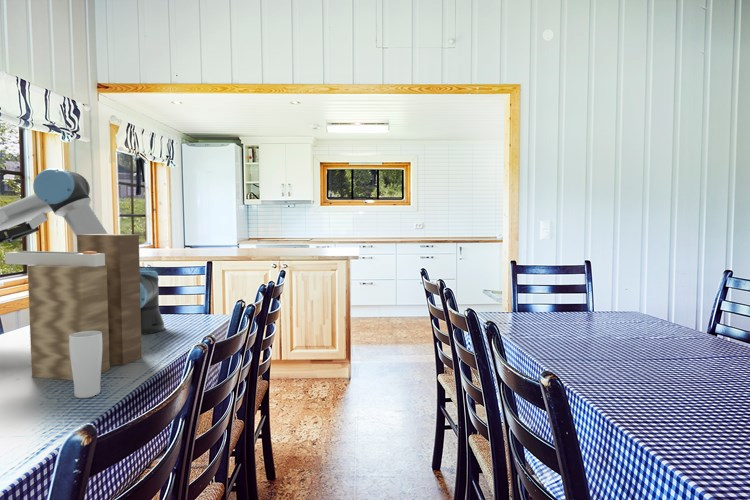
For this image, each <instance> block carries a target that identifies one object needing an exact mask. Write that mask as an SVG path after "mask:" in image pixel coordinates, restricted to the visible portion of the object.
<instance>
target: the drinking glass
mask: <svg viewBox="0 0 750 500" xmlns="http://www.w3.org/2000/svg"><path fill="white" fill-rule="evenodd" d="M102 351H103V341H102V332H100V331H83V332H77V333H73V334H71V335H70V336H69V353H70V361H71V368H72V376H73V380H72V382H73V393H74V397H75V398H76V399H88V398H89V399H90V398H93V397H95V395H96V396H98V395H99V394H100V393H101V379H102V378H101V377H102V373H101V366H102Z"/></svg>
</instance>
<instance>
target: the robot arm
mask: <svg viewBox="0 0 750 500" xmlns="http://www.w3.org/2000/svg"><path fill="white" fill-rule="evenodd" d="M89 183H90V182H88V181H87V179H86V178H85V177H84V176H83V175H81V174H79V173H77V172H73V171H70V170H66V169H64V168H60V167H58V168H57V167H55V168H54V167H53V168H47V169H44V170H42V171H40V172H39V173H38V174H37V175H36V176H35V178H34V180H33V184H32V185H33V187H32V189H33V191H34V192H33V194H30V195H28V196H26V197H23V198H21V199H19V200H16V201H13V202H10V203H8V204H6V205H5V204H4V205H3V206H1V207H0V245H2V244H3V243H5V242H8V244H12V243H14V242H16V241H18V240H20V239H22V238H24V237H27V236H30V235H31V234H34V233H35V232H39V231H40V228H39V226H40V225H42V224H43V223H46V221H48V220H49V218H48V216H47V213H51V212H53V214H54V215H56V216H57V217H62V218H63V219H64V221H65V223H66V224H67V225H68V227H69V228H70V230H71V231H72V233H73V234H74V235H75V237H76V238H77V235H80V234H109V233H108V232H107V230H106V229H105V227H104V226H103V224H102V222H101V221H100V220H99V217H97V215H96V213H95V212H94V211H93V209H92V208H91V206H90V204H91V201H92V200H91V197H90V192H91V189H90V184H89ZM25 222H27V223H25ZM23 223H25V224H23ZM21 224H22V225H21ZM18 225H19V226H18ZM159 279H160V278H159V273H158V272H157V271H156V270H140V306H141V335H148V334H155V333H158V332H162V331H163V330H164V329H165V322H164V319H163V317H162V314H161V312H160V305H159V303H160V302H159V300H160V299H159V297H160V296H159Z"/></svg>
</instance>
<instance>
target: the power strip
mask: <svg viewBox="0 0 750 500" xmlns="http://www.w3.org/2000/svg"><path fill="white" fill-rule="evenodd" d="M4 262H5V265H20V266H21V265H24V266H25V265H26V266H31V265H56V266H91V267H96V266H104V265H105V254H100V253H97V251H86V252H83V253H80V252H77V251H47V250H46V251H39V250H19V251H8V252H7V251H5V252H4Z"/></svg>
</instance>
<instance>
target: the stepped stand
mask: <svg viewBox="0 0 750 500" xmlns="http://www.w3.org/2000/svg"><path fill="white" fill-rule="evenodd" d="M76 247H77V248H76V249H77V251H76V252H80V253H83V252H86V251H97V253H100V254H105V265H104V266H96V267H91V266H56V265H27V282H28V283H27V285H28V287H27V288H28V289H27V290H28V305H29V306H28V307H29V308H28V309H29V310H28V311H29V335H30V336H29V337H30V359H31V360H30V362H31V377H32V378H41V379H42V378H44V379H54V380H66V379H67V380H68V381H69V380H70V381H73V376H72V368H71V361H70V353H69V336H70V335H71V334H73V333H77V332H83V331H100V332H102V341H103V351H102V366H101V374H103V373H105V372H108V371H110V367H111V366H122V367H123V366H126V365H128V364H130V363H133V362H135V361H137V360H140V359H142V358H143V356H142V353H143V351H142V334H141V306H140V271H141V270H140V269H141V267H140V235H139V234H134V233H133V234H128V233H127V234H126V233H124V234H123V233H121V234H120V233H117V234H115V233H108V234H80V235H77V237H76Z"/></svg>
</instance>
